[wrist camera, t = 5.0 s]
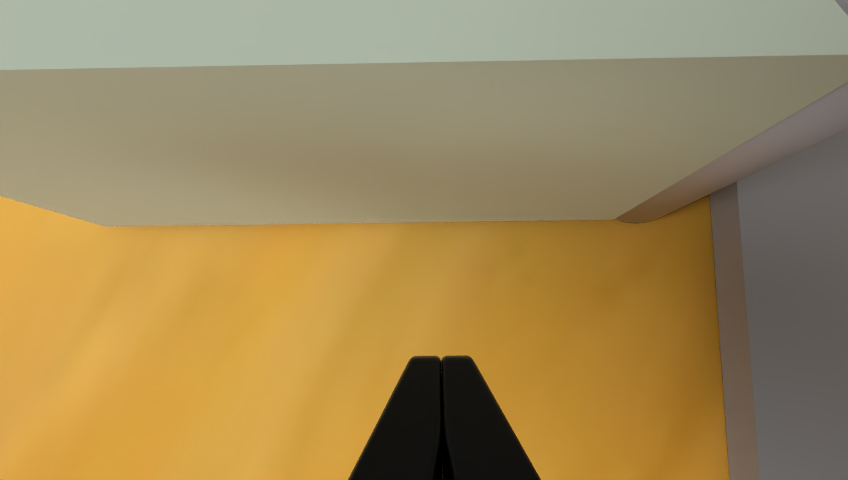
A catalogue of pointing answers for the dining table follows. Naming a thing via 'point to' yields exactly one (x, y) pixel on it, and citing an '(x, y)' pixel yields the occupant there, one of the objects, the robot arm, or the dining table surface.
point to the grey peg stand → (785, 315)
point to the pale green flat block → (406, 106)
